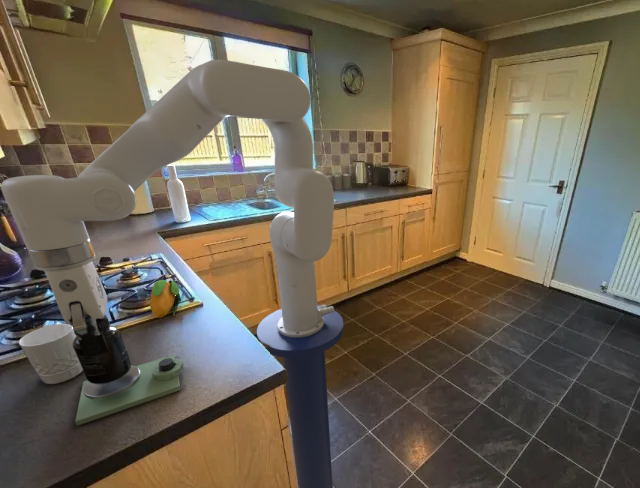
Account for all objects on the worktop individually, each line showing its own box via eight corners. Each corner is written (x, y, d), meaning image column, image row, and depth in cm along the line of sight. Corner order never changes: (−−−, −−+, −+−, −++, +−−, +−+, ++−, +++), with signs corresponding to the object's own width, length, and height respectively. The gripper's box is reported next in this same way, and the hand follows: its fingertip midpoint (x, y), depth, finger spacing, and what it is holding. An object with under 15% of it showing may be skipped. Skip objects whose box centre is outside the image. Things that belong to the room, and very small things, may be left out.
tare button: (174, 362, 71) (172, 356, 70) (175, 369, 69) (173, 363, 68) (159, 366, 70) (158, 360, 69) (160, 373, 68) (158, 367, 67)
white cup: (40, 371, 71) (21, 332, 67) (88, 356, 75) (72, 319, 71) (37, 392, 65) (15, 351, 61) (88, 375, 70) (71, 336, 66)
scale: (181, 356, 76) (179, 347, 75) (187, 387, 67) (185, 378, 66) (85, 385, 67) (80, 376, 66) (77, 426, 58) (72, 415, 57)
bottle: (172, 220, 184) (159, 165, 172) (187, 218, 190) (175, 164, 178) (178, 223, 179) (165, 166, 168) (193, 220, 185) (182, 165, 173)
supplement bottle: (140, 368, 65) (122, 316, 60) (101, 390, 60) (77, 335, 55) (119, 358, 68) (100, 307, 63) (80, 378, 62) (55, 325, 57)
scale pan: (140, 362, 70) (139, 359, 70) (141, 387, 64) (139, 384, 63) (87, 378, 65) (85, 375, 65) (81, 407, 59) (80, 403, 59)
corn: (176, 271, 102) (172, 298, 86) (183, 292, 105) (181, 322, 89) (148, 276, 99) (139, 306, 83) (156, 298, 102) (149, 331, 86)
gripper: (87, 266, 49) (122, 361, 56) (97, 236, 62) (125, 317, 69) (17, 277, 45) (64, 378, 52) (43, 243, 58) (78, 327, 65)
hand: (98, 342), depth 61 cm, fingers closed on supplement bottle, 6 cm apart
